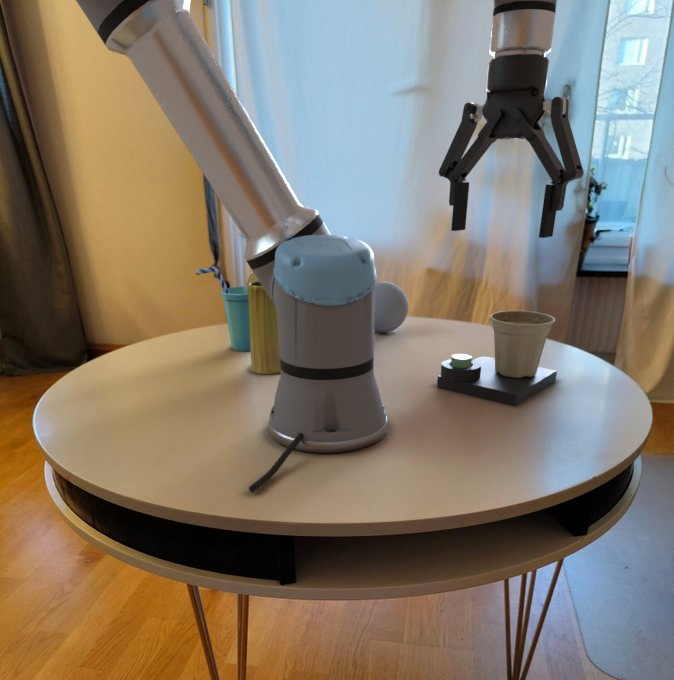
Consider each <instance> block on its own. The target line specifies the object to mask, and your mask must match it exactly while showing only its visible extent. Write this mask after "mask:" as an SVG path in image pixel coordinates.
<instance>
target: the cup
mask: <svg viewBox="0 0 674 680" xmlns="http://www.w3.org/2000/svg"><path fill="white" fill-rule="evenodd" d="M209 273H214V274H215V276H216V277H217V279H218V282H219V284H220V286H221V288H222V290H220V297H221V298H222V300H223V307H224V310H225V311H224V312H225V317H226V323H227V329H228V332H229V338H230V344H231V348H232V349H233V350H234V351H237V352H249V351H250V318H249V300H248V283H250V282H254V281H259V280H258V278H257V277H256V275H255V274H254V272H252V273H251V274H249V277H248V279H247V282H246V286H235V287H227V285H226V281H225V280H224V277H223V276H222V273H221V271H220V270H219V269H218V268H216V267H215V266H209V267H205V268H200V269H196V270H195V274H196V275H197V276H199V275H204V274H209ZM250 352H251V351H250Z"/></svg>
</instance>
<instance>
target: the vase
mask: <svg viewBox="0 0 674 680" xmlns="http://www.w3.org/2000/svg"><path fill="white" fill-rule="evenodd" d="M248 300H249V318H250V358H251V359H250V361H251V364H250V370H251V371H252V372H253V373H255V374H260V375H275V374H281V366H280V348H279V330H278V316H277V311H276V309H275V306H274V303H273V302H272V300H271V299H270V297H269V295H268V294H267V292H266V291H265V289H264V288H263V286H262V285H261V283H260V282H259V281H254V282H250V283H248Z"/></svg>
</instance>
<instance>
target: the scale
mask: <svg viewBox="0 0 674 680" xmlns="http://www.w3.org/2000/svg"><path fill="white" fill-rule="evenodd" d="M451 360H452V358H451V359H445V360H443V361H441V365H440V366H441V367H440V375H438V376H437V382H436V383H437V384H436V387H437V388H441V389H443V390H449V391H453V392H457V393H461V394H466V395H468V396H469V395H470V396H473V397H476V398H477V397H478V398H482V399H485V400H491V401H495V402H499V403H503V404H507V405H511V406H515V407H516V406H517V405H520V404H521V403H522V402H524V401H525V400H527V399H529V398H530V397H532V396H533V395H535V394H536V393H538V392H540V391H542V390H543V389H545V388H546V387H548V386H550V385H552V384H553V383H554V382H556V381H557V373H558V370H556V369H551V368H545V367H541V366H538V369H537V373H536V374H535V375H534V376H532V377H528V376H524V377H522V378H513V377H506V376H503V375H501V374H500V373H499V372H496V371H495V357H490V356H486V355H485V356H484V355H481V356H479V357H477V358H475V359H472V362H471V367H468V368H457V367H452V366H451Z"/></svg>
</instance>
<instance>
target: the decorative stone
mask: <svg viewBox="0 0 674 680" xmlns="http://www.w3.org/2000/svg"><path fill="white" fill-rule="evenodd" d="M408 313H409V300H408V297H407V295H406V293H405V292H404V290H403V289H402V288H401V287H400V286H398V285H397V284H395V283H393V282H390V281H378V282H376V283H375V311H374V332H376V333H384V334H385V333H390V332H393V331H395V330H397V329H398V328H400V327H401V326H402V325H403V323H404V322H405V320H406V318H407V316H408Z"/></svg>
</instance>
